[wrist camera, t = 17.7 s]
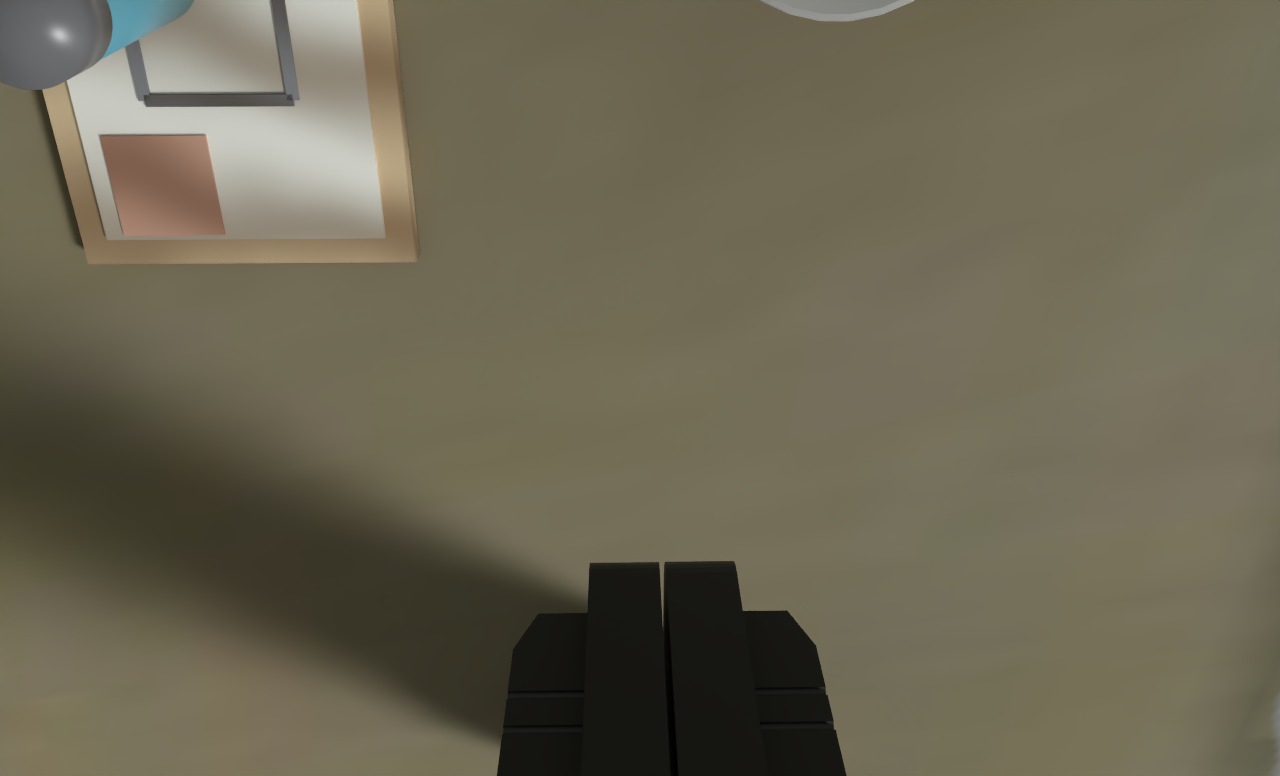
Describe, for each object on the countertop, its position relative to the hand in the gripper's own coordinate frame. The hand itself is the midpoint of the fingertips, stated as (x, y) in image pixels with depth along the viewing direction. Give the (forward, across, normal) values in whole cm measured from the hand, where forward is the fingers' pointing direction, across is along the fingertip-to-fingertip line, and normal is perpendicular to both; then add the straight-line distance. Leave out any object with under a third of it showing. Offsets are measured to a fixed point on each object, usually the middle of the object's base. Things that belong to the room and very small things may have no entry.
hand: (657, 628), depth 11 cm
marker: (+28, +16, -3) cm, 32 cm away
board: (+29, +14, -1) cm, 32 cm away
